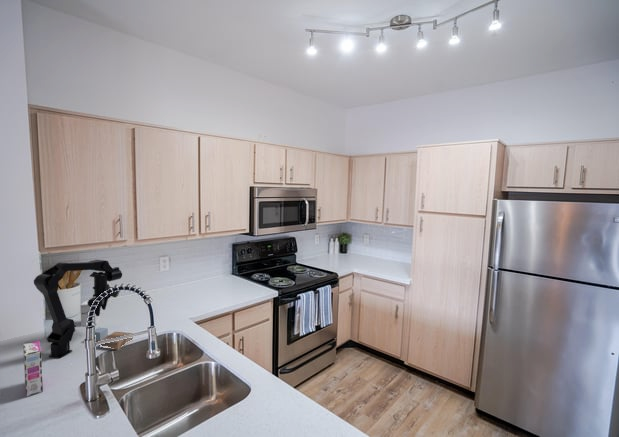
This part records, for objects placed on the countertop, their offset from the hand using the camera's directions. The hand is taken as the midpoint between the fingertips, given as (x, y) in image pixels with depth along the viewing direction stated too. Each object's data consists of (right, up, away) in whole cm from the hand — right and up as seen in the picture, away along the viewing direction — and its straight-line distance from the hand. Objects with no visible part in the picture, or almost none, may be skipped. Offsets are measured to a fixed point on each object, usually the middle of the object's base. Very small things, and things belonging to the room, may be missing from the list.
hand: (101, 312), depth 160 cm
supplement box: (-16, -11, +15) cm, 25 cm away
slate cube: (+1, -13, -3) cm, 13 cm away
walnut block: (+13, -14, -8) cm, 20 cm away
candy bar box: (+3, -16, -42) cm, 45 cm away
